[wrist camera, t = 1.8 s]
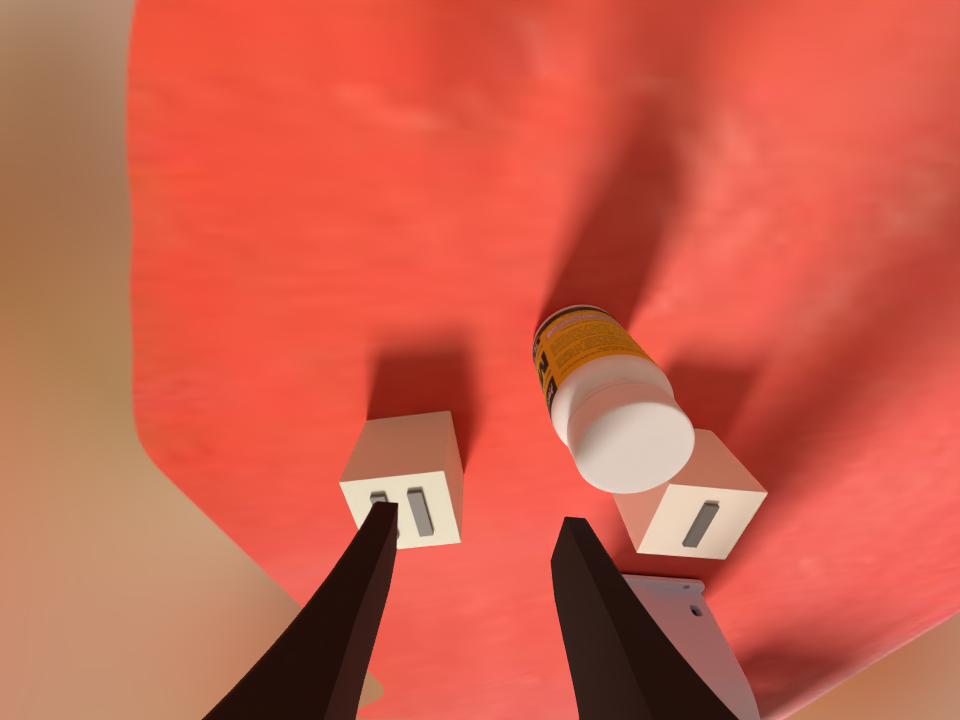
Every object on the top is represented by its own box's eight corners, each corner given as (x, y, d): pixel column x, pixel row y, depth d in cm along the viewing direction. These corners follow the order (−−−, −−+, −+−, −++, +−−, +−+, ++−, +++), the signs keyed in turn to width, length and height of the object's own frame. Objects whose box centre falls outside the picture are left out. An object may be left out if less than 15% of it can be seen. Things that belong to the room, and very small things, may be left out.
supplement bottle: (516, 326, 19) (542, 424, 12) (604, 286, 18) (692, 365, 11) (550, 396, 21) (590, 519, 14) (631, 363, 20) (721, 475, 13)
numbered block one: (710, 429, 23) (771, 496, 18) (680, 489, 25) (727, 563, 20) (630, 421, 22) (671, 487, 18) (607, 483, 25) (638, 556, 20)
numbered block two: (450, 409, 22) (443, 473, 17) (463, 473, 24) (460, 546, 19) (366, 419, 22) (337, 485, 17) (387, 482, 24) (366, 555, 20)
